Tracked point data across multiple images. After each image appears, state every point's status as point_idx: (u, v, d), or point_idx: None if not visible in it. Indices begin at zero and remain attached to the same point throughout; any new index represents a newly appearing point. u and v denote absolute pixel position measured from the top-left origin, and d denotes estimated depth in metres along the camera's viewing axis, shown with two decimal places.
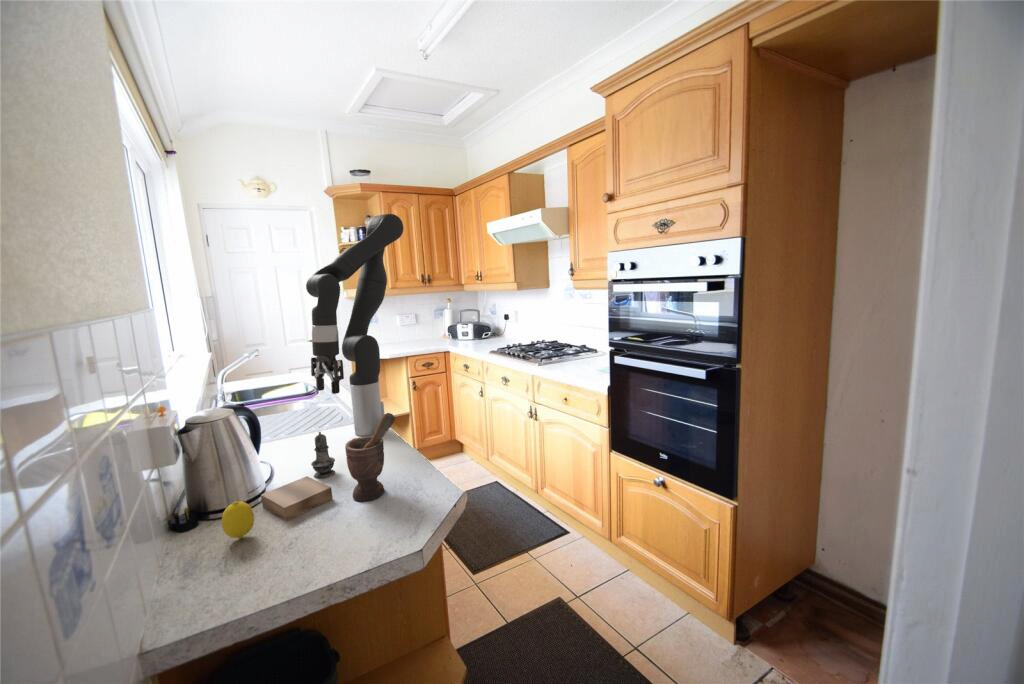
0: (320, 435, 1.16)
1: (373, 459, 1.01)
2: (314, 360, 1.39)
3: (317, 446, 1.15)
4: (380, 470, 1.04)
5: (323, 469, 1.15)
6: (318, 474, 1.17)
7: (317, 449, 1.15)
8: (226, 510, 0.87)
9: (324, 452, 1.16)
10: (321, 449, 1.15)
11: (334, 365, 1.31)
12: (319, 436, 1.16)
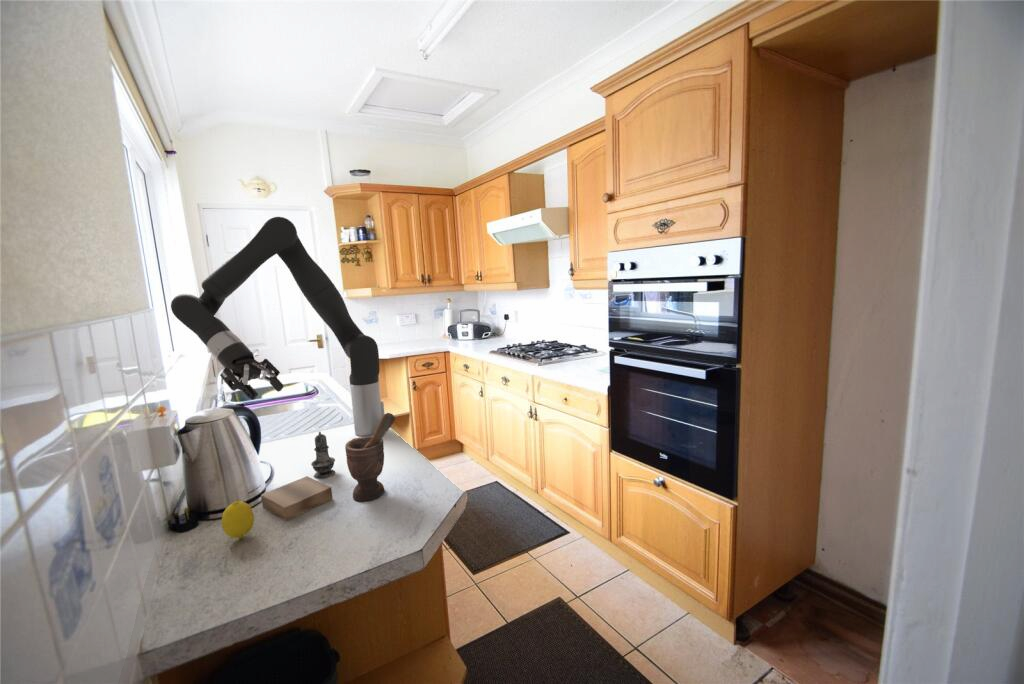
0: (320, 435, 1.16)
1: (373, 459, 1.01)
2: (261, 366, 1.25)
3: (317, 446, 1.15)
4: (380, 470, 1.04)
5: (323, 469, 1.15)
6: (318, 474, 1.17)
7: (317, 449, 1.15)
8: (226, 510, 0.87)
9: (324, 452, 1.16)
10: (321, 449, 1.15)
11: None
12: (319, 436, 1.16)
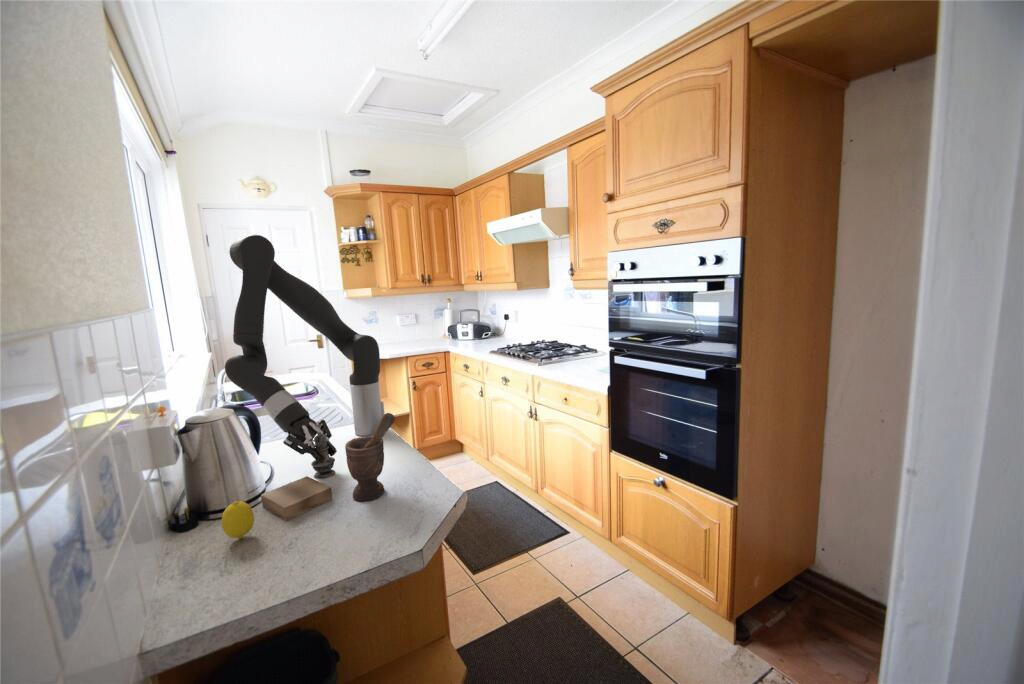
0: (320, 435, 1.16)
1: (373, 459, 1.01)
2: None
3: (317, 446, 1.15)
4: (380, 470, 1.04)
5: (323, 469, 1.15)
6: (318, 474, 1.17)
7: None
8: (226, 510, 0.87)
9: (324, 452, 1.16)
10: (321, 449, 1.15)
11: None
12: (319, 436, 1.16)
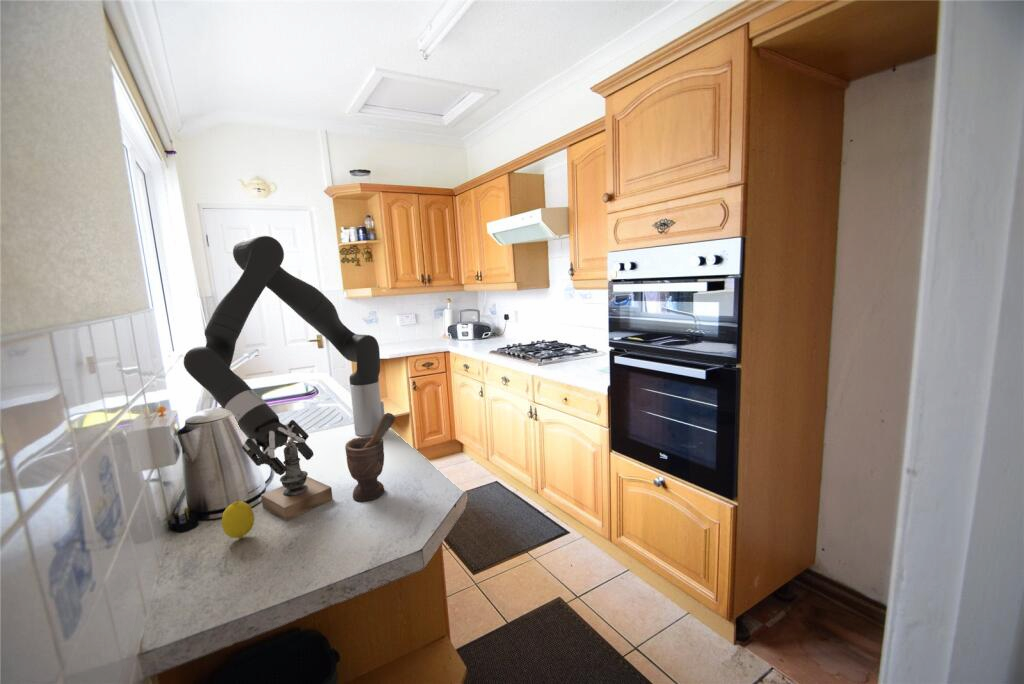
0: (290, 446, 1.01)
1: (373, 459, 1.01)
2: None
3: (286, 459, 1.00)
4: (380, 470, 1.04)
5: (293, 485, 1.00)
6: (288, 491, 1.02)
7: (286, 462, 1.00)
8: (226, 510, 0.87)
9: (294, 466, 1.01)
10: (291, 462, 1.00)
11: None
12: (289, 447, 1.00)
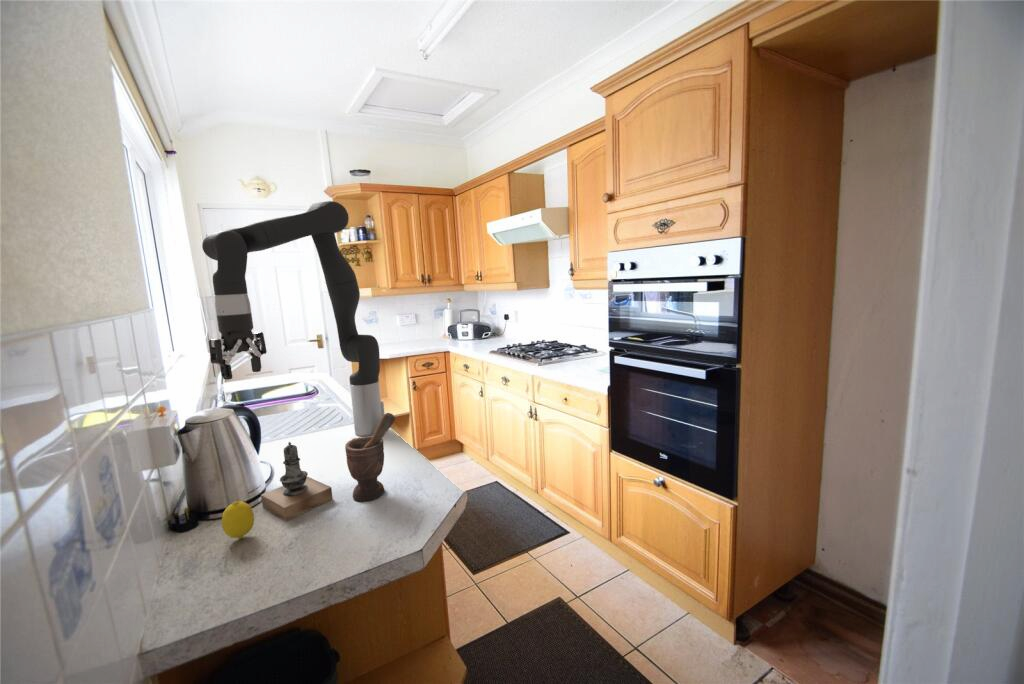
0: (290, 446, 1.01)
1: (373, 459, 1.01)
2: None
3: (286, 459, 1.00)
4: (380, 470, 1.04)
5: (293, 485, 1.00)
6: (288, 491, 1.02)
7: (286, 462, 1.00)
8: (226, 510, 0.87)
9: (294, 466, 1.01)
10: (291, 462, 1.00)
11: None
12: (289, 447, 1.00)
